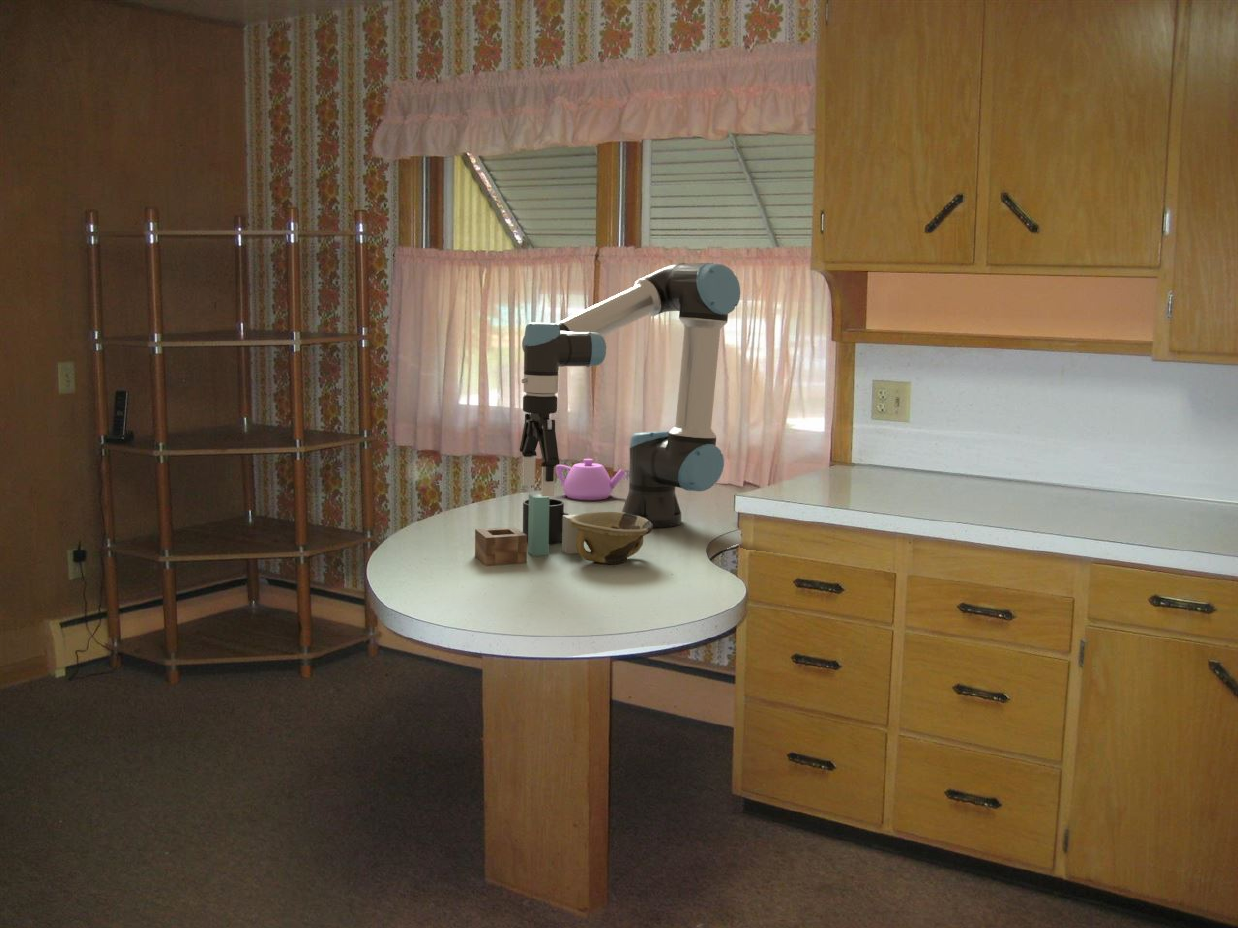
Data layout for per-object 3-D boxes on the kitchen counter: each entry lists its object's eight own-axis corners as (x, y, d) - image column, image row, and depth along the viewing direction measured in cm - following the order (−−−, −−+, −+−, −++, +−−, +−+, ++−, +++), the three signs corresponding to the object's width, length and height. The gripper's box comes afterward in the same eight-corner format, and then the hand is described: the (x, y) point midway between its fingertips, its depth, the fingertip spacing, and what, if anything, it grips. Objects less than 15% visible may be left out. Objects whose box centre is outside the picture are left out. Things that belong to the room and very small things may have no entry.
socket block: (514, 553, 267) (514, 526, 266) (526, 562, 259) (527, 535, 258) (475, 555, 264) (475, 529, 263) (486, 565, 255) (486, 537, 254)
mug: (565, 547, 274) (565, 508, 273) (516, 542, 278) (516, 504, 276) (579, 539, 283) (579, 501, 282) (531, 534, 286) (532, 497, 285)
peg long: (543, 551, 270) (544, 494, 268) (548, 554, 266) (549, 497, 264) (528, 552, 268) (528, 494, 266) (532, 555, 265) (533, 497, 263)
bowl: (592, 574, 250) (593, 529, 248) (556, 555, 266) (557, 513, 264) (666, 567, 258) (667, 523, 257) (627, 549, 274) (628, 508, 272)
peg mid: (577, 549, 273) (577, 514, 271) (582, 552, 269) (583, 517, 268) (562, 550, 271) (562, 515, 270) (567, 553, 268) (567, 518, 267)
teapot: (622, 503, 329) (623, 464, 327) (550, 499, 331) (551, 461, 330) (628, 494, 343) (629, 457, 341) (559, 490, 345) (560, 454, 343)
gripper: (507, 388, 272) (505, 481, 275) (541, 400, 249) (539, 501, 252) (539, 389, 275) (536, 480, 278) (576, 400, 252) (572, 500, 255)
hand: (537, 490), depth 265 cm, fingers open, 13 cm apart
